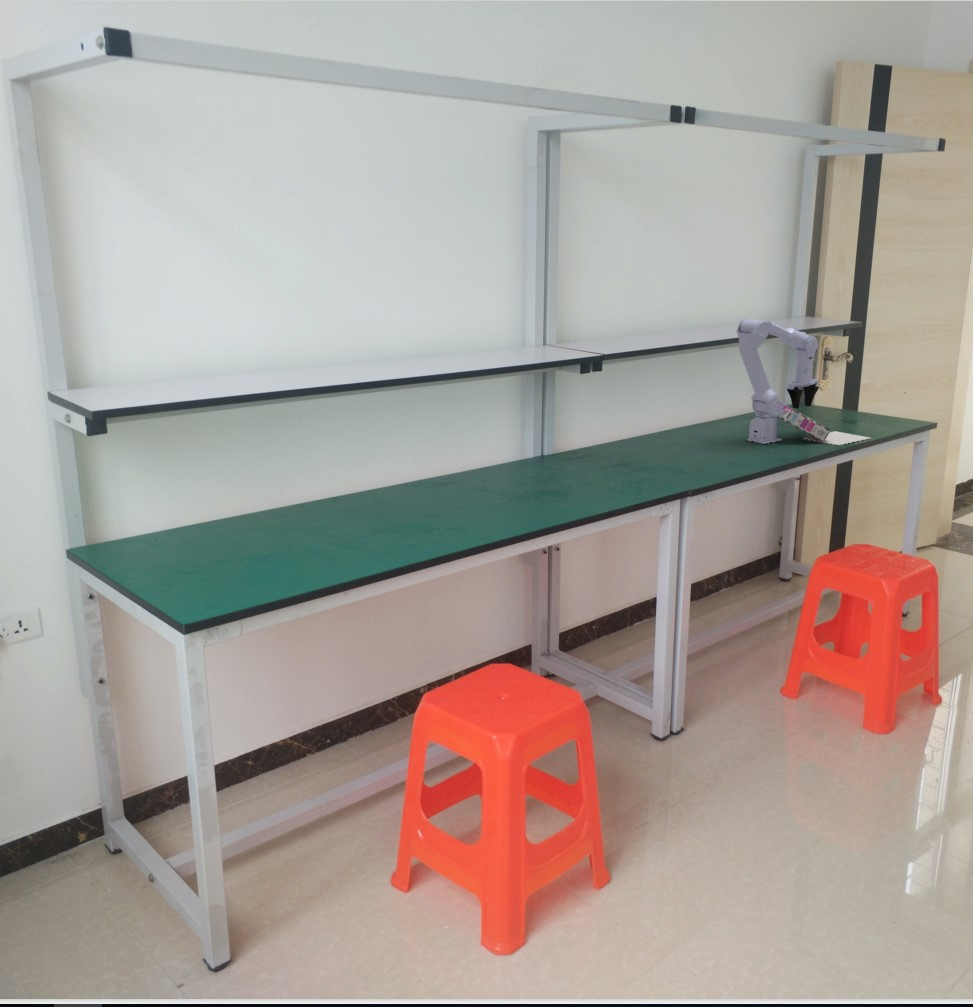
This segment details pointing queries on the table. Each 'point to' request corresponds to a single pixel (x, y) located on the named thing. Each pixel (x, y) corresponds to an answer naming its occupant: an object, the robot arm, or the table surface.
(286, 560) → the table surface
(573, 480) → the table surface
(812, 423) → the candy bar box
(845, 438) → the mat
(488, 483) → the table surface
